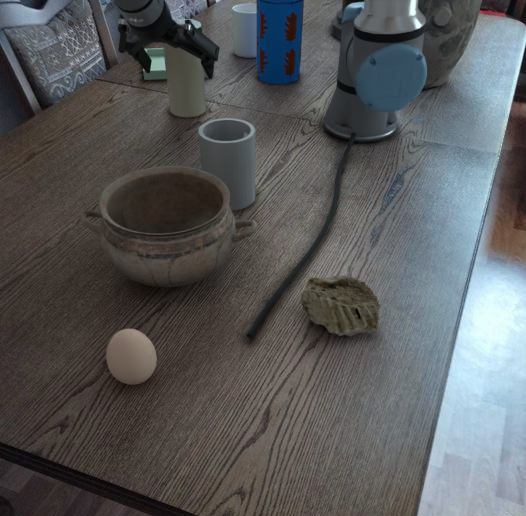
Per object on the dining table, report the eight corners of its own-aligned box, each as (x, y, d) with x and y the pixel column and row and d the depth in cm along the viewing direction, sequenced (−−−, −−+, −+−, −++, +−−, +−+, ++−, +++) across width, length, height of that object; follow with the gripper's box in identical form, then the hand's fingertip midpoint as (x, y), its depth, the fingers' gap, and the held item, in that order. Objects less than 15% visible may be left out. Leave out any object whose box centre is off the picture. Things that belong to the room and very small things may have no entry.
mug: (266, 44, 154) (267, 0, 146) (264, 59, 146) (264, 13, 138) (236, 43, 154) (235, -1, 147) (231, 58, 146) (230, 12, 138)
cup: (195, 204, 95) (189, 137, 87) (216, 180, 101) (212, 114, 93) (243, 214, 93) (242, 147, 85) (262, 189, 99) (262, 123, 90)
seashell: (367, 360, 74) (390, 296, 77) (374, 343, 67) (398, 273, 70) (289, 333, 76) (314, 272, 79) (288, 313, 69) (315, 247, 72)
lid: (203, 40, 109) (202, 30, 108) (160, 42, 109) (159, 32, 107) (201, 27, 115) (200, 18, 114) (160, 29, 114) (159, 19, 113)
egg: (131, 354, 70) (121, 310, 65) (169, 370, 68) (161, 326, 63) (102, 385, 67) (89, 340, 61) (141, 402, 65) (130, 358, 59)
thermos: (300, 69, 141) (307, -50, 123) (298, 85, 133) (305, -39, 115) (258, 67, 141) (259, -51, 123) (254, 83, 134) (253, -41, 116)
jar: (207, 116, 120) (201, 33, 109) (170, 118, 120) (160, 34, 108) (205, 101, 126) (199, 21, 114) (170, 103, 125) (160, 22, 113)
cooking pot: (72, 305, 77) (48, 231, 68) (111, 229, 90) (95, 159, 81) (250, 318, 75) (249, 244, 66) (263, 239, 88) (264, 168, 80)
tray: (210, 77, 136) (209, 68, 135) (144, 80, 135) (143, 71, 133) (206, 55, 148) (206, 46, 146) (145, 57, 146) (144, 48, 145)
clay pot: (381, 58, 147) (402, -83, 125) (468, 72, 140) (506, -75, 119) (354, 87, 133) (373, -67, 111) (449, 104, 126) (489, -56, 104)
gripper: (72, 23, 95) (121, 82, 116) (210, 35, 92) (235, 93, 113) (78, -20, 95) (126, 46, 116) (217, -10, 92) (240, 56, 113)
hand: (180, 69), depth 115 cm, fingers open, 13 cm apart
